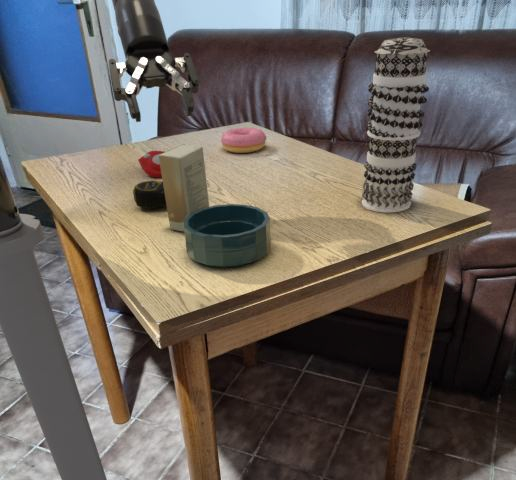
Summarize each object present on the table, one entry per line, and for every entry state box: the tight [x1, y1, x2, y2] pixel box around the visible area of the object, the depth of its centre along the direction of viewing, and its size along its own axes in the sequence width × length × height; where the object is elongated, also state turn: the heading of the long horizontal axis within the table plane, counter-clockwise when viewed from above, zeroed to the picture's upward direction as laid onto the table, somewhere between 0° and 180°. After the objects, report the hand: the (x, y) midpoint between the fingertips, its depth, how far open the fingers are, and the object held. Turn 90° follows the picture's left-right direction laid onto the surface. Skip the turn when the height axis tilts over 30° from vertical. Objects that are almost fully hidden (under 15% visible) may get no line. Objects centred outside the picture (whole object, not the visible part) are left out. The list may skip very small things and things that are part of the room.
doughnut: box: [220, 127, 267, 154], centre depth 123 cm, size 11×11×4 cm
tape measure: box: [132, 180, 167, 209], centre depth 93 cm, size 7×7×4 cm
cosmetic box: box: [159, 144, 210, 233], centre depth 83 cm, size 6×4×12 cm
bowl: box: [183, 203, 272, 268], centre depth 76 cm, size 12×12×5 cm
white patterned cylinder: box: [361, 37, 431, 214], centre depth 83 cm, size 9×9×25 cm
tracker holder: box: [138, 150, 165, 178], centre depth 112 cm, size 12×4×10 cm
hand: (164, 116), depth 85 cm, fingers open, 8 cm apart
